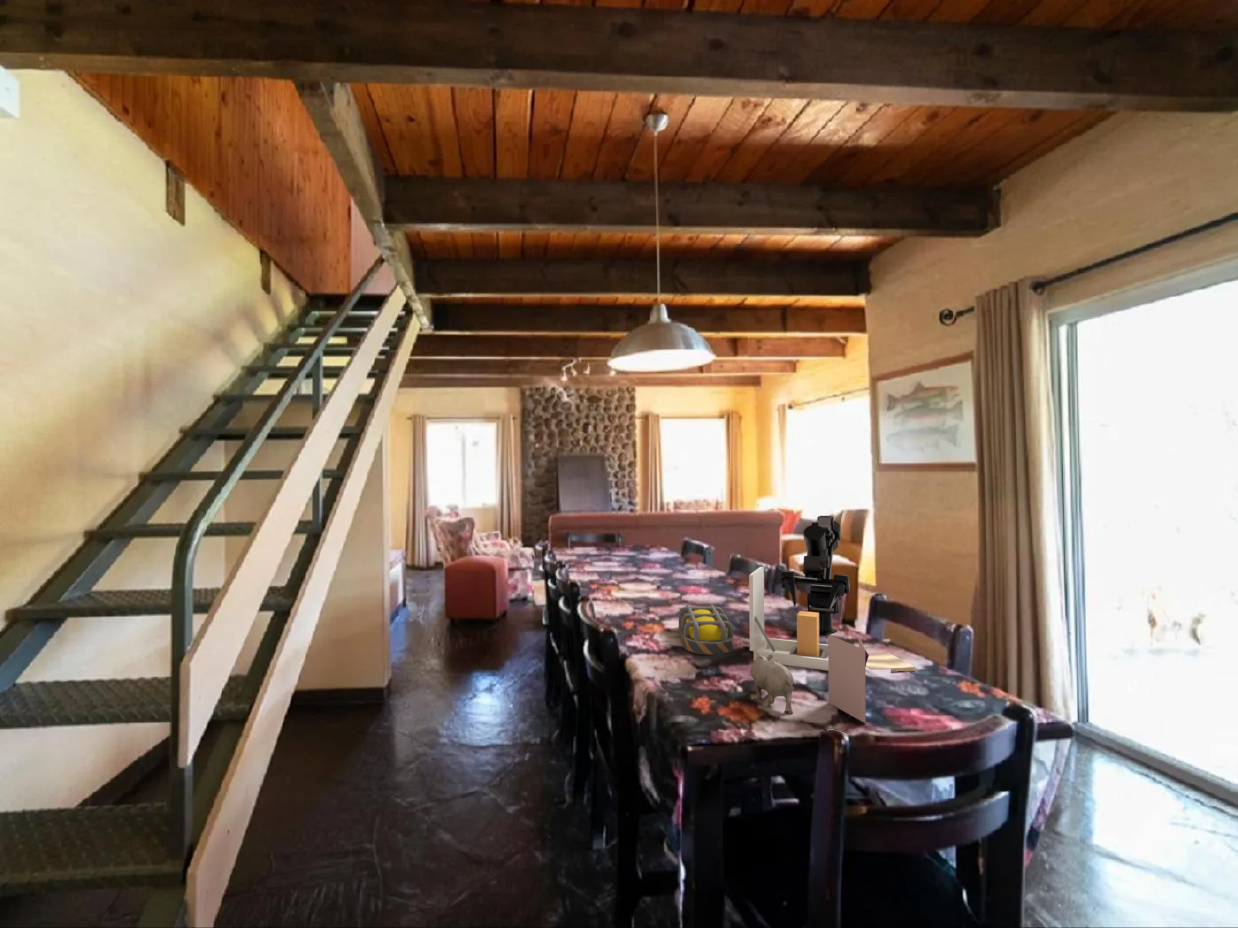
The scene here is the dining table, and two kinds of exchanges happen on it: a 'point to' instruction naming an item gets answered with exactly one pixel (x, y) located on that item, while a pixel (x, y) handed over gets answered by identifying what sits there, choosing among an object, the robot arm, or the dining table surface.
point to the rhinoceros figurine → (772, 681)
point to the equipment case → (778, 648)
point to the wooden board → (887, 662)
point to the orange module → (808, 633)
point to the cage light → (705, 630)
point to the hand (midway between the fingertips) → (811, 607)
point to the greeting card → (847, 677)
